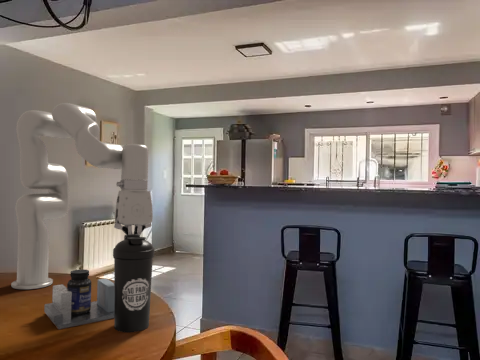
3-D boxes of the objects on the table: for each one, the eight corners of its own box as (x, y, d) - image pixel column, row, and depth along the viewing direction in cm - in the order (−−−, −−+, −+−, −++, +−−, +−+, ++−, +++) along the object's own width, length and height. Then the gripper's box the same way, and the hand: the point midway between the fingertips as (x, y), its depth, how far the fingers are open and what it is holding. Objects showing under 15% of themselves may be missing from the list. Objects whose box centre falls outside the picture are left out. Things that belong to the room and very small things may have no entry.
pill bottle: (81, 316, 101) (82, 274, 101) (61, 314, 102) (62, 272, 102) (95, 309, 107) (96, 269, 107) (75, 307, 108) (76, 267, 108)
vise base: (43, 313, 105) (43, 284, 105) (110, 301, 116) (111, 275, 117) (55, 330, 94) (56, 297, 94) (129, 315, 105) (129, 286, 106)
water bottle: (114, 336, 91) (117, 239, 91) (107, 322, 100) (110, 233, 100) (156, 330, 95) (159, 237, 96) (146, 316, 105) (149, 232, 105)
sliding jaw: (96, 303, 111) (97, 279, 111) (105, 302, 113) (106, 278, 113) (107, 312, 104) (108, 286, 104) (116, 310, 106) (117, 285, 106)
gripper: (113, 186, 106) (111, 252, 106) (163, 186, 115) (161, 248, 115) (104, 185, 112) (102, 248, 111) (152, 186, 121) (150, 244, 121)
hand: (132, 248), depth 113 cm, fingers closed
